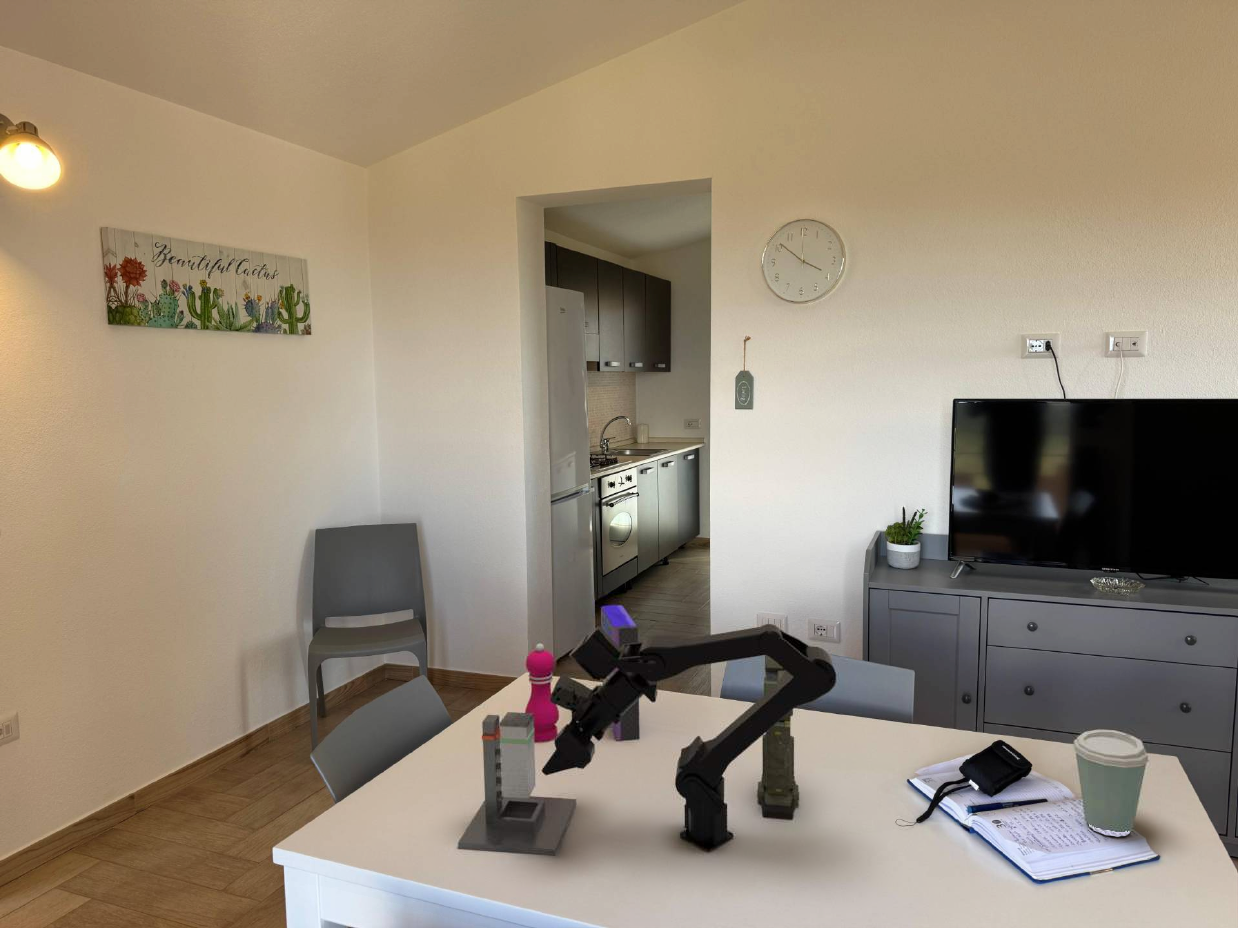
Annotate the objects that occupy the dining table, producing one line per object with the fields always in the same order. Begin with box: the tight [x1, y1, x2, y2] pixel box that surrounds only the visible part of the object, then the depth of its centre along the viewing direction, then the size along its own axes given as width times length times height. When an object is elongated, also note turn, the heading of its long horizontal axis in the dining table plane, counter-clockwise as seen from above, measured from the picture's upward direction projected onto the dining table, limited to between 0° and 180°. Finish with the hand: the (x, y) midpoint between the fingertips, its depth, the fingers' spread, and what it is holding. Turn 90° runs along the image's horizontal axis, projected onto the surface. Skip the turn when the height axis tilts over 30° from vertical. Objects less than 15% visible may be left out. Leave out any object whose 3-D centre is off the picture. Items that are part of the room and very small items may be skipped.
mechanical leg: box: [756, 655, 800, 821], centre depth 147 cm, size 14×7×30 cm, turn 168°
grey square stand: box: [457, 714, 577, 856], centre depth 140 cm, size 16×16×18 cm
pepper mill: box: [524, 643, 560, 743], centre depth 176 cm, size 7×7×20 cm
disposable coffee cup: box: [1072, 729, 1149, 832], centre depth 137 cm, size 11×11×15 cm
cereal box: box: [600, 604, 641, 742], centre depth 181 cm, size 17×5×24 cm, turn 10°
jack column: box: [499, 711, 536, 798], centre depth 140 cm, size 5×5×13 cm
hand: (550, 759), depth 139 cm, fingers open, 9 cm apart
